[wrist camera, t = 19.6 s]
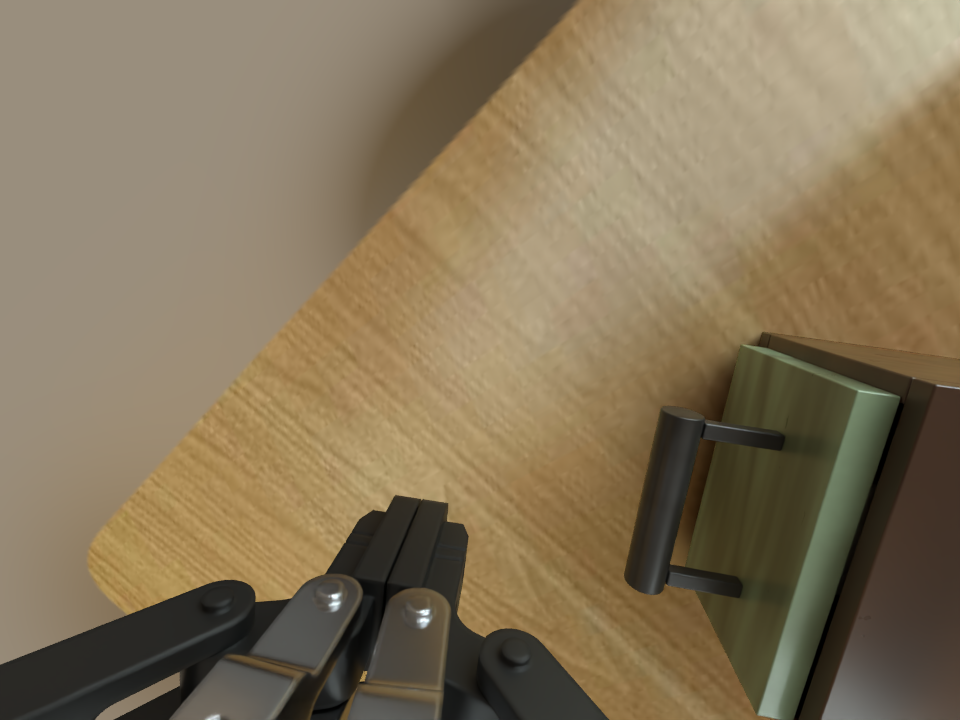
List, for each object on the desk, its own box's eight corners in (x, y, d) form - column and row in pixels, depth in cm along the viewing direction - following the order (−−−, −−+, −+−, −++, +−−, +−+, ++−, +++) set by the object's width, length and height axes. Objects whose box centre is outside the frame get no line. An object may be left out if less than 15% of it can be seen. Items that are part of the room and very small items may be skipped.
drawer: (597, 553, 24) (627, 690, 16) (643, 330, 21) (704, 367, 14) (975, 621, 22) (1201, 804, 15) (1070, 390, 20) (1398, 469, 12)
